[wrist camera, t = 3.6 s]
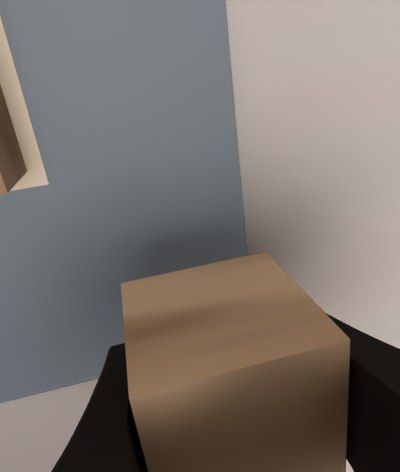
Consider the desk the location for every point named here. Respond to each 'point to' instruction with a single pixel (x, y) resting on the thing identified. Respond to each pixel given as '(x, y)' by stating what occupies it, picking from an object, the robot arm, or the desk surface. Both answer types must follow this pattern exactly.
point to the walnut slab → (9, 151)
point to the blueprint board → (108, 171)
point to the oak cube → (235, 371)
